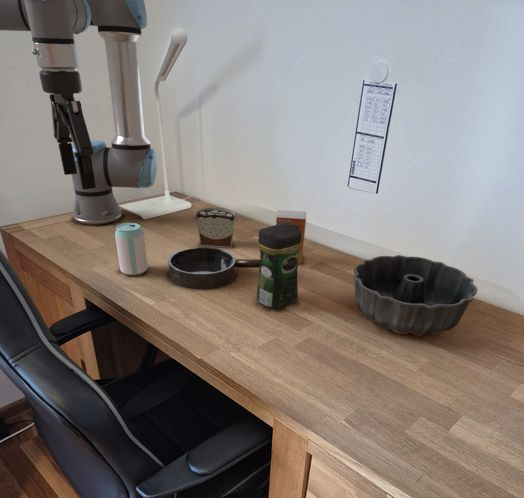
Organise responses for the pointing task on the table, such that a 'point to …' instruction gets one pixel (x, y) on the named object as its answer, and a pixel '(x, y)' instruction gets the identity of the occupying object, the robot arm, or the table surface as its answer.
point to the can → (131, 249)
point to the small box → (296, 219)
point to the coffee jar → (278, 265)
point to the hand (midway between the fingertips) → (79, 181)
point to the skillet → (202, 267)
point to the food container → (215, 226)
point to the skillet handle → (247, 263)
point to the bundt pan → (412, 294)
